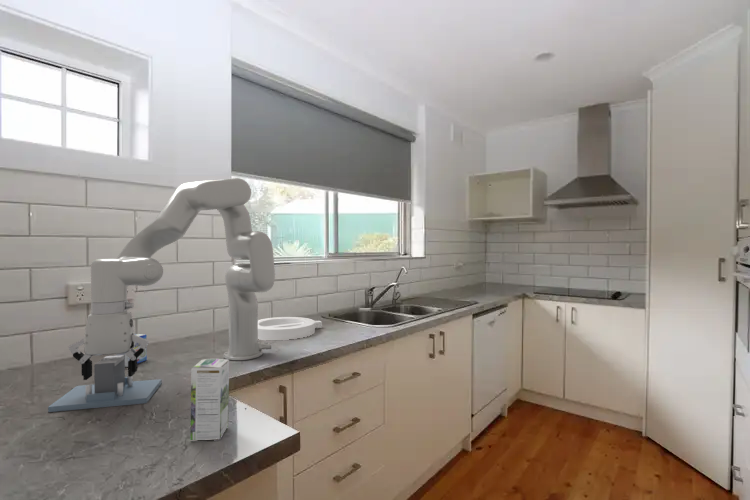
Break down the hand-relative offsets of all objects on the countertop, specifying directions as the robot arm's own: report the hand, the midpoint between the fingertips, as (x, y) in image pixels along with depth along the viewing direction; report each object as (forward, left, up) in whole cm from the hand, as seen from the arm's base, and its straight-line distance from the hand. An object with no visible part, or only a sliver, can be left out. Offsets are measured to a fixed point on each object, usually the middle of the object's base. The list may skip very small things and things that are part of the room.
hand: (110, 376), depth 99 cm
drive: (0, 0, -4) cm, 4 cm away
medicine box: (+4, -30, -5) cm, 31 cm away
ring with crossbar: (-44, -63, -6) cm, 77 cm away
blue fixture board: (0, 0, -5) cm, 5 cm away
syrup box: (-27, +28, -5) cm, 39 cm away
